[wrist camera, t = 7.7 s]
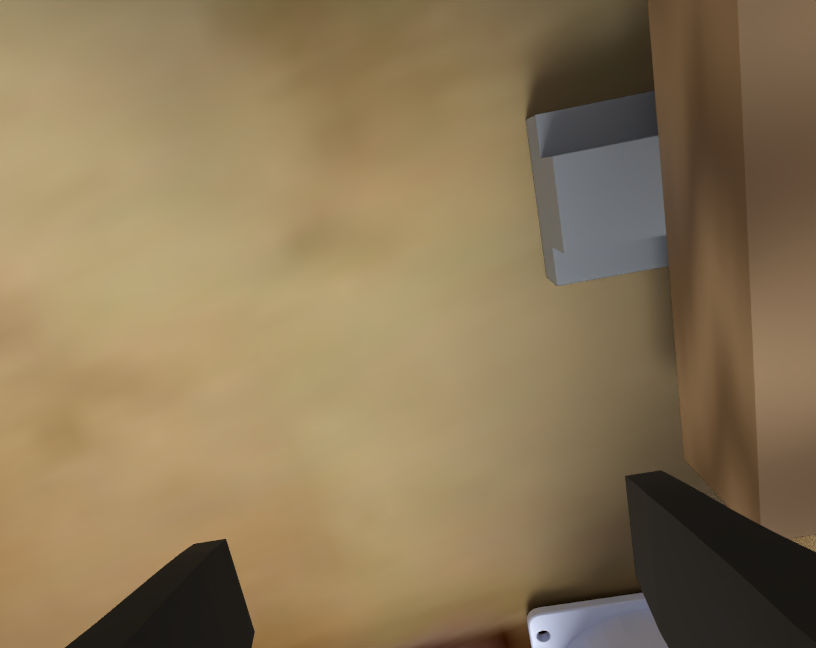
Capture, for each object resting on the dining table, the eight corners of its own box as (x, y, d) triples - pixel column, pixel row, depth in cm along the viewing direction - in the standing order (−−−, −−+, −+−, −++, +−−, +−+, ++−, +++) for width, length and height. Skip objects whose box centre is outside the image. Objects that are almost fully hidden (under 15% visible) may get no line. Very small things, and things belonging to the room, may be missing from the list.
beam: (804, 440, 17) (919, 519, 13) (684, 459, 17) (761, 542, 13) (790, -198, 13) (949, -358, 9) (634, -161, 13) (723, -302, 9)
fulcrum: (829, 226, 18) (906, 235, 15) (546, 277, 19) (569, 295, 16) (827, 58, 17) (911, 34, 14) (525, 120, 18) (546, 108, 15)
